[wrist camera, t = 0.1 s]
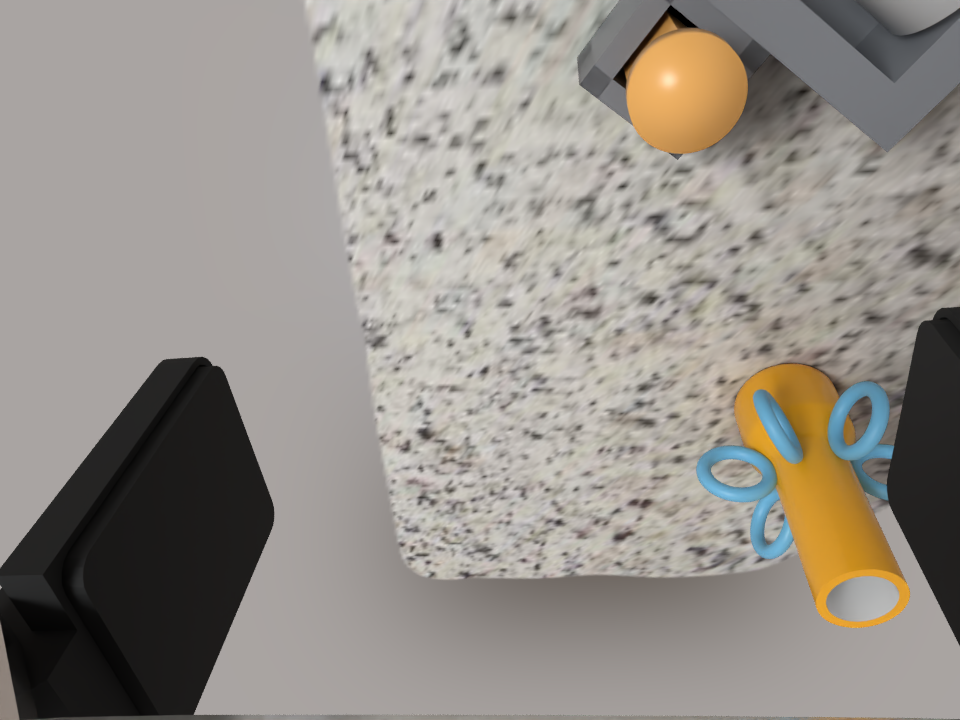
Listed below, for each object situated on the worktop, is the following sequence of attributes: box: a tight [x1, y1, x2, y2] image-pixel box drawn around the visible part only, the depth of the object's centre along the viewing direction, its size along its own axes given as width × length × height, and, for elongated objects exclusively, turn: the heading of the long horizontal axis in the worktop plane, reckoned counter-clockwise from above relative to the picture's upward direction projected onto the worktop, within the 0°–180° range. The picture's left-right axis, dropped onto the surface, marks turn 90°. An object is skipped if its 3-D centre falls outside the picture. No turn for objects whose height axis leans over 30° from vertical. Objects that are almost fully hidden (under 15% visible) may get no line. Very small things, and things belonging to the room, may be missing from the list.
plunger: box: [623, 10, 748, 154], centre depth 32 cm, size 4×4×7 cm
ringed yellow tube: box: [696, 363, 910, 628], centre depth 41 cm, size 12×10×15 cm
